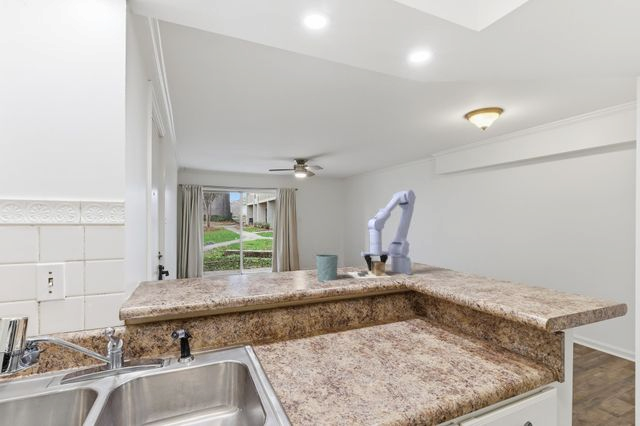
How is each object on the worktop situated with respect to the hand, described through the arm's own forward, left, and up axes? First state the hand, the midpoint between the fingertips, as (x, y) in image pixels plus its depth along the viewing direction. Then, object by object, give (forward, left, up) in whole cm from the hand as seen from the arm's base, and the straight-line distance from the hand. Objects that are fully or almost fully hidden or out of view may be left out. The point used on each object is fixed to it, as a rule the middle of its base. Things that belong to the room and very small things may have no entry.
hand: (376, 270), depth 147 cm
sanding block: (-1, 0, -2) cm, 2 cm away
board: (+4, 0, -3) cm, 5 cm away
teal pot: (+26, +6, -3) cm, 27 cm away
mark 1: (+8, +2, -2) cm, 9 cm away
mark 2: (+5, -2, -2) cm, 6 cm away
